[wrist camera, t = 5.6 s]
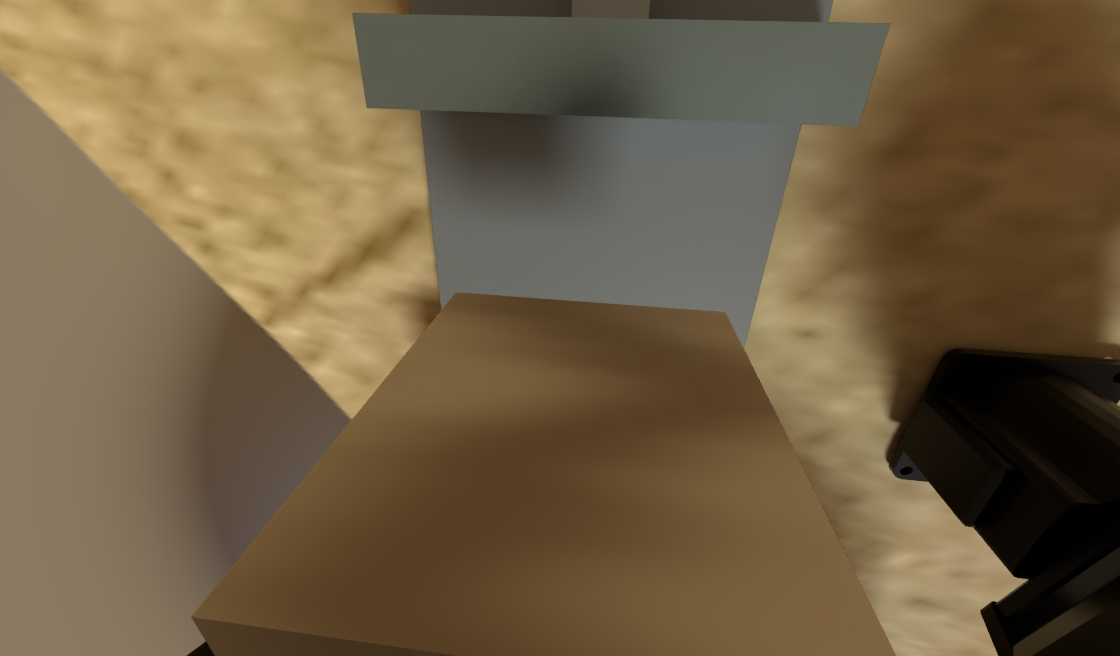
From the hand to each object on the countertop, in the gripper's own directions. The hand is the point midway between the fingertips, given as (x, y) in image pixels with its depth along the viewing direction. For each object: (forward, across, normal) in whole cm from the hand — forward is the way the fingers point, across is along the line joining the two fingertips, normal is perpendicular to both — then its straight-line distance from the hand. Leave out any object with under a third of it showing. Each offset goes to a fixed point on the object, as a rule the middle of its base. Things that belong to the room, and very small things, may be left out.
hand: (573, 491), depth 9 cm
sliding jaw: (+9, 0, -12) cm, 15 cm away
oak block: (+1, 0, 0) cm, 1 cm away
